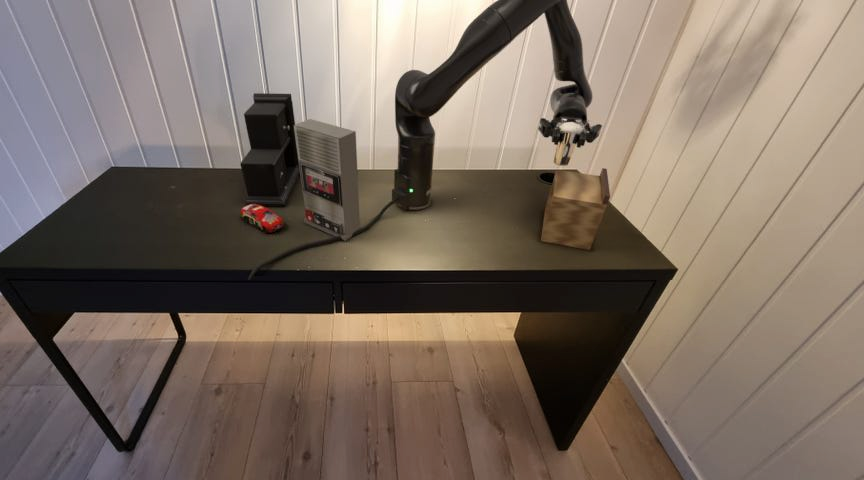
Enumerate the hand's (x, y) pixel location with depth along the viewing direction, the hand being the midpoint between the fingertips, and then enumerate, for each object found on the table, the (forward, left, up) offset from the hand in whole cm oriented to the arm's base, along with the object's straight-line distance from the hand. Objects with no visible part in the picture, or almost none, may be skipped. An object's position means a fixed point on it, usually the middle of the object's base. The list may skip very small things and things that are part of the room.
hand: (568, 141), depth 88 cm
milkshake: (+2, +2, -6) cm, 7 cm away
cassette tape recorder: (-45, +27, -23) cm, 58 cm away
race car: (-60, +38, -23) cm, 75 cm away
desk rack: (+5, -2, -23) cm, 23 cm away
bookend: (-51, +56, -23) cm, 79 cm away
